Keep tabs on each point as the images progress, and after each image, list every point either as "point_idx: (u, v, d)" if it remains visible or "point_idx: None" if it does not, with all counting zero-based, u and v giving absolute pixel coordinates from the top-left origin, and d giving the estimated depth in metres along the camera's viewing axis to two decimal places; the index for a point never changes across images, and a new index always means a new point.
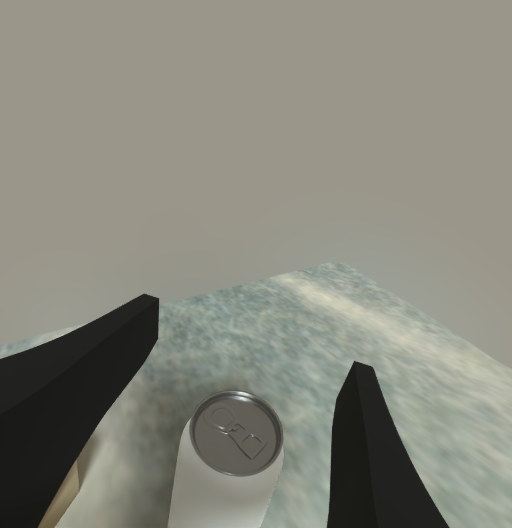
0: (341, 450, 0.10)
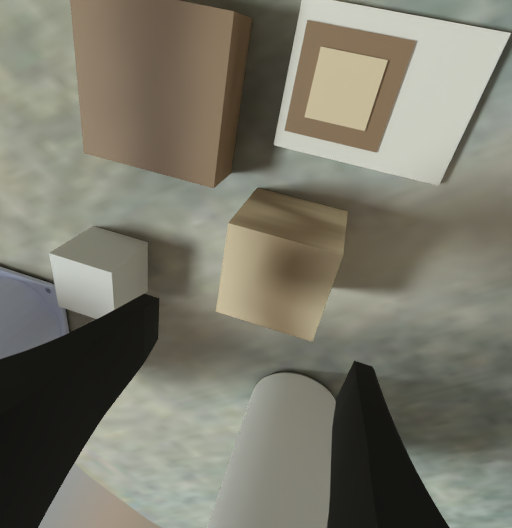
0: (341, 450, 0.10)
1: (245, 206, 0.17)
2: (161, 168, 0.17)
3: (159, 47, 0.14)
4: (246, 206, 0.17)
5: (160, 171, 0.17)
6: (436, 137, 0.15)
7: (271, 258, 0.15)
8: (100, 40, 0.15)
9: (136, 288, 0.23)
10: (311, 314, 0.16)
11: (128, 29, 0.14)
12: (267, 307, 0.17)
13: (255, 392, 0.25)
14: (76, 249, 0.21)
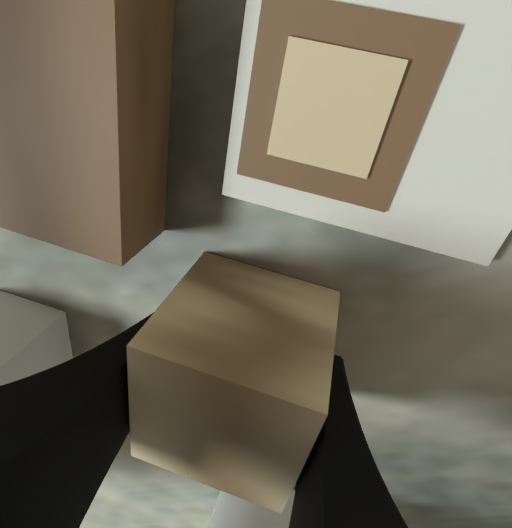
0: None
1: (171, 298, 0.10)
2: (40, 232, 0.11)
3: None
4: (173, 297, 0.10)
5: (39, 237, 0.11)
6: (488, 192, 0.09)
7: (205, 403, 0.09)
8: None
9: None
10: (277, 481, 0.10)
11: None
12: (207, 463, 0.10)
13: (219, 505, 0.19)
14: None
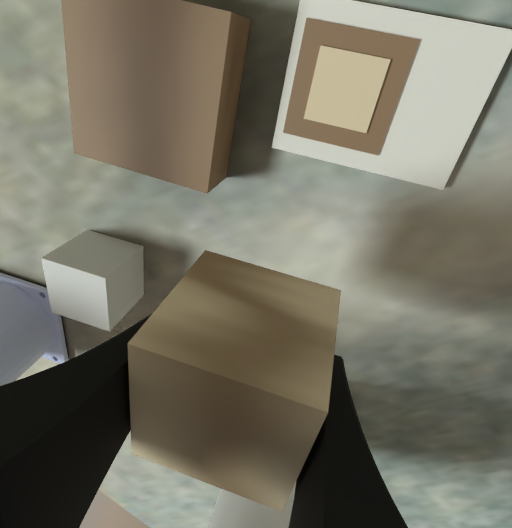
0: None
1: (172, 296, 0.10)
2: (153, 171, 0.16)
3: (153, 46, 0.14)
4: (174, 296, 0.10)
5: (152, 174, 0.17)
6: (440, 140, 0.15)
7: (205, 401, 0.09)
8: (91, 37, 0.14)
9: (131, 293, 0.23)
10: (278, 479, 0.10)
11: (121, 27, 0.14)
12: (207, 461, 0.10)
13: None
14: (69, 254, 0.20)
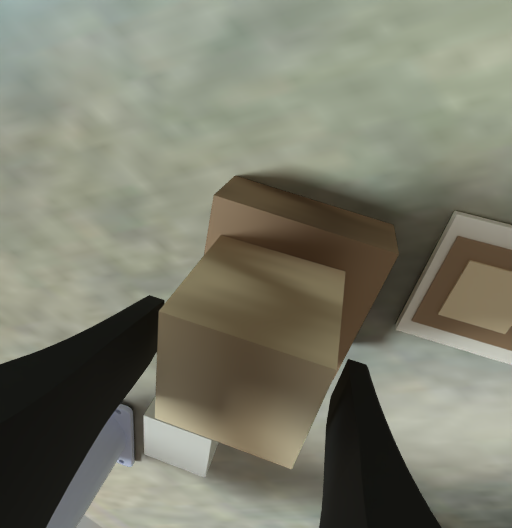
0: (335, 447, 0.10)
1: (194, 273, 0.11)
2: None
3: None
4: (196, 273, 0.11)
5: None
6: None
7: (227, 363, 0.10)
8: None
9: None
10: (289, 437, 0.11)
11: (271, 246, 0.13)
12: (225, 422, 0.11)
13: None
14: None
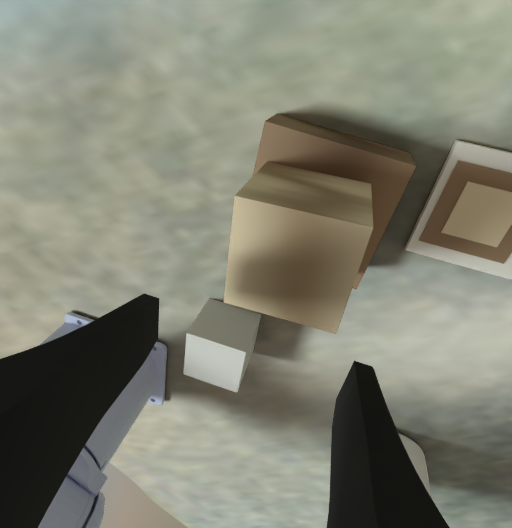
0: (342, 450, 0.10)
1: (254, 179, 0.14)
2: None
3: None
4: (255, 179, 0.14)
5: None
6: None
7: (286, 236, 0.13)
8: None
9: (250, 355, 0.25)
10: (335, 300, 0.14)
11: (311, 165, 0.16)
12: (282, 295, 0.14)
13: None
14: (206, 327, 0.23)
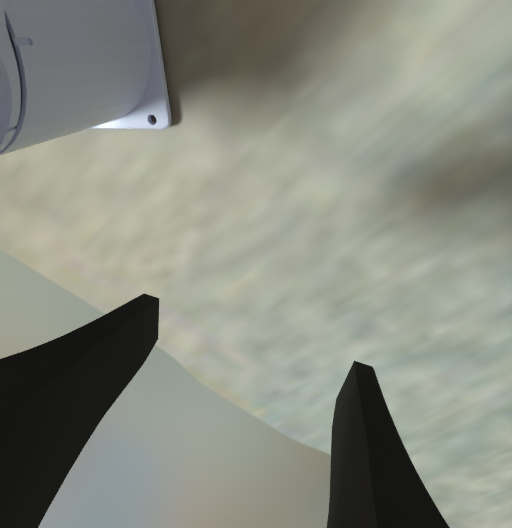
0: (341, 450, 0.10)
1: None
2: None
3: None
4: None
5: None
6: None
7: None
8: None
9: None
10: None
11: None
12: None
13: None
14: None
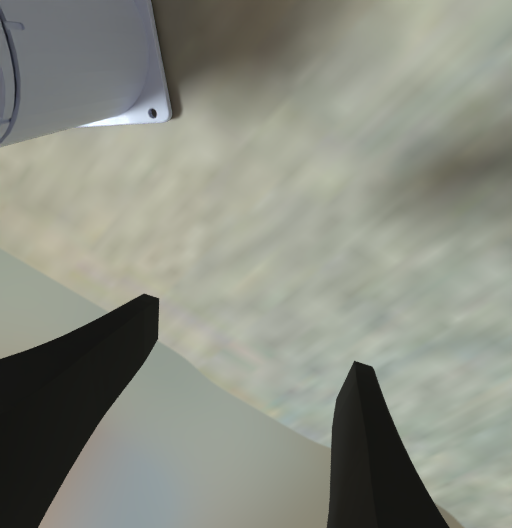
0: (341, 450, 0.10)
1: None
2: None
3: None
4: None
5: None
6: None
7: None
8: None
9: None
10: None
11: None
12: None
13: None
14: None
